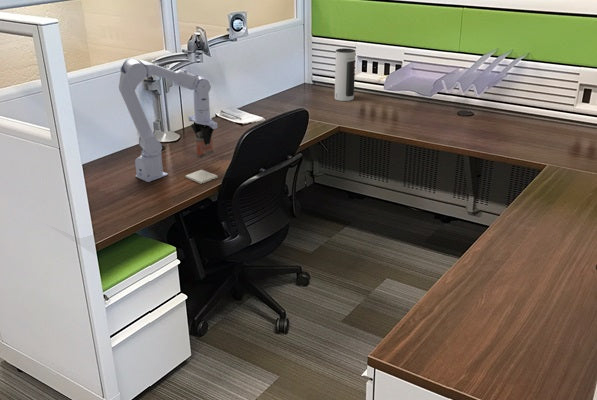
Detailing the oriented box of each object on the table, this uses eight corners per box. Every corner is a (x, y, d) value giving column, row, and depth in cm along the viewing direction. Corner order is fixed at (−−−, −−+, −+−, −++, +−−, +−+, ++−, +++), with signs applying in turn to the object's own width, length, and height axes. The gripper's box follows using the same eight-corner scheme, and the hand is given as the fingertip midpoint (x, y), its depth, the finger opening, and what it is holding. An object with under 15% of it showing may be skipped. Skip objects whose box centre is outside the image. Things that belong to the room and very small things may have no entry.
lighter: (209, 150, 249) (207, 126, 244) (215, 152, 247) (213, 128, 242) (194, 156, 243) (192, 132, 238) (200, 158, 241) (199, 134, 237)
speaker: (340, 102, 326) (342, 52, 315) (330, 97, 334) (331, 48, 323) (357, 99, 331) (359, 50, 320) (346, 94, 339) (348, 46, 328)
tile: (201, 183, 231) (201, 181, 230) (185, 177, 236) (185, 175, 236) (217, 177, 236) (217, 175, 236) (201, 171, 242) (201, 169, 241)
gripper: (222, 110, 235) (224, 144, 241) (197, 102, 244) (199, 135, 249) (208, 114, 230) (210, 148, 236) (183, 106, 239) (185, 140, 245)
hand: (204, 142), depth 242 cm, fingers closed on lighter, 3 cm apart
